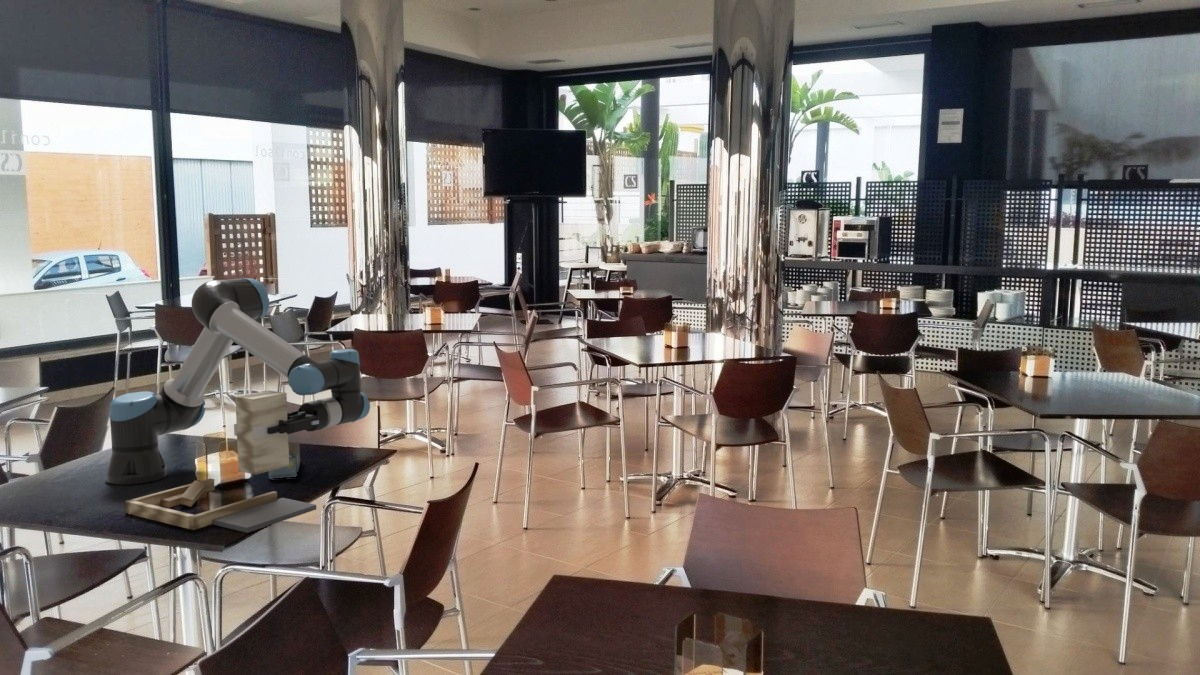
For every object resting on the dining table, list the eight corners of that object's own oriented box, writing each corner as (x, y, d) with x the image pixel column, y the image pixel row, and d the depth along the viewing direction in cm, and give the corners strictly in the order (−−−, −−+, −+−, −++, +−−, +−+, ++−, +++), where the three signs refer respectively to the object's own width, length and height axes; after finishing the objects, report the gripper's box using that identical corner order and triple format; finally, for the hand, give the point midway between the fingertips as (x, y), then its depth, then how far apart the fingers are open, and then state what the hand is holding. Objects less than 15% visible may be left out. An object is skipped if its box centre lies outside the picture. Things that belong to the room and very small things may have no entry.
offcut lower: (160, 507, 238) (159, 498, 238) (198, 496, 248) (197, 488, 247) (169, 509, 236) (168, 501, 236) (206, 498, 246) (206, 490, 246)
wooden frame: (125, 513, 232) (125, 501, 231) (210, 489, 253) (210, 478, 252) (193, 530, 219) (193, 517, 219) (277, 503, 240) (276, 492, 240)
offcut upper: (179, 503, 237) (180, 496, 236) (193, 486, 245) (195, 480, 245) (191, 506, 237) (192, 500, 236) (204, 490, 246) (206, 483, 245)
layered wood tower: (238, 471, 225) (235, 396, 223) (272, 462, 234) (269, 390, 232) (255, 474, 222) (252, 399, 220) (289, 465, 231) (286, 392, 229)
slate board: (212, 524, 223) (212, 519, 223) (282, 502, 241) (282, 497, 241) (247, 532, 217) (247, 527, 217) (316, 509, 235) (316, 504, 235)
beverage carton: (267, 480, 262) (266, 457, 262) (273, 464, 281) (272, 442, 280) (297, 478, 264) (296, 455, 264) (301, 462, 283) (300, 440, 282)
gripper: (346, 433, 238) (273, 452, 218) (293, 425, 247) (218, 442, 227) (345, 403, 237) (272, 420, 217) (292, 396, 246) (217, 411, 227)
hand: (245, 431), depth 222 cm, fingers closed on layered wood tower, 6 cm apart
